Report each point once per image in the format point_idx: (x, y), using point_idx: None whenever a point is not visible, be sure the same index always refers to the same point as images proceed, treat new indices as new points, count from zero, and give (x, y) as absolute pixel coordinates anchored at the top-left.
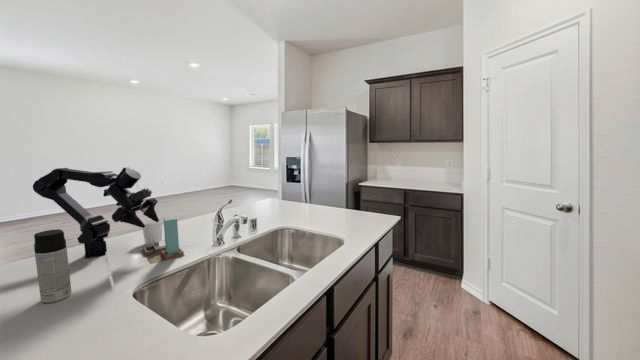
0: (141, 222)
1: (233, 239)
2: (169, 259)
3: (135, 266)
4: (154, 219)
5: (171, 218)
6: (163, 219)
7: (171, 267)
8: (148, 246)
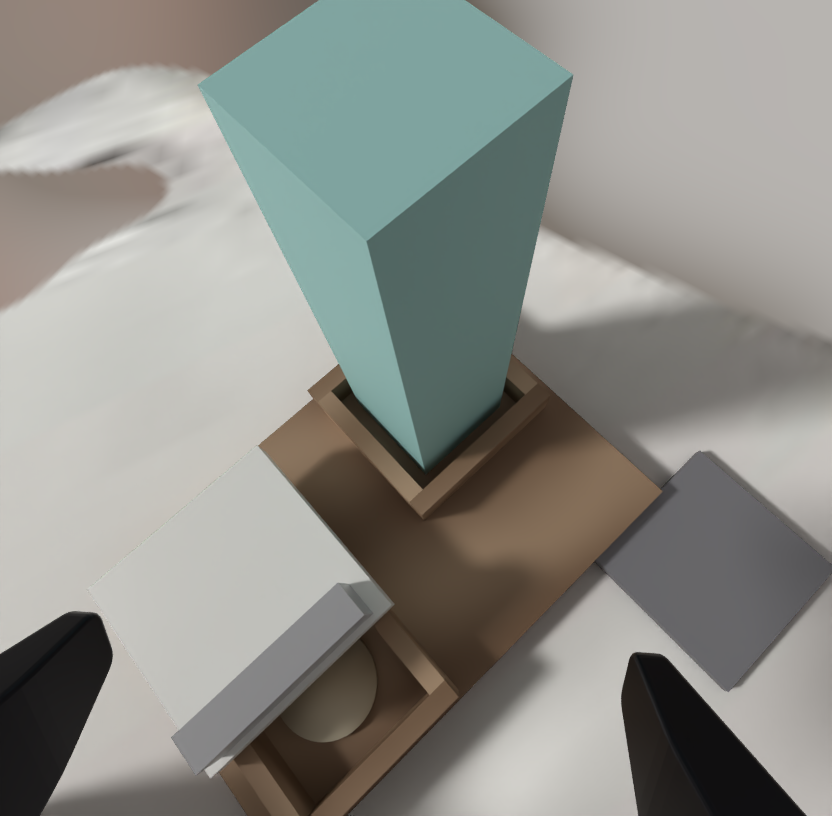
0: (742, 773)
1: (29, 121)
2: (535, 376)
3: (673, 655)
4: (43, 755)
5: (360, 64)
6: (374, 254)
7: (636, 309)
8: (270, 793)
